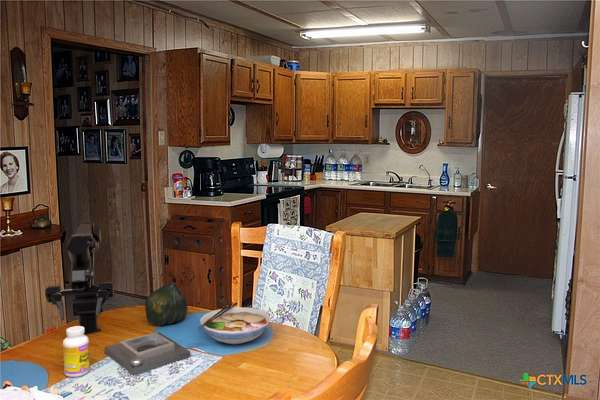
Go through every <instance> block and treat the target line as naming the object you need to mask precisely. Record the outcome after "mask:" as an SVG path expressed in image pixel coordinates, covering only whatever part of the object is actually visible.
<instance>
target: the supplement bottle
mask: <svg viewBox="0 0 600 400" xmlns="http://www.w3.org/2000/svg"><path fill="white" fill-rule="evenodd" d="M65 331H66V332H65V333H66V337H65V338H64V339H63V342H62V349H63V369H64V370H63V371H64V375H65V376H66V377H69V378H78V377H83V376H86V374H87V375H88V373H89V372H90V370H91V368H90V367H91V366H90V364H91V362H90V339H89V337H88V336H87V334H85V335H84V332H85V330H84V327H83V326H79V325H75V326H71V327H68V328H66V330H65Z"/></svg>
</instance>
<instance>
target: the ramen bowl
mask: <svg viewBox="0 0 600 400" xmlns="http://www.w3.org/2000/svg"><path fill="white" fill-rule="evenodd" d="M237 305H238V302H233V301H230V302H229V303H228V304H227V305H225V306H224V307H223V308H221V309H219V308H218V309H215V310H212V311H210V312H207V313H204V315H202V317H201V318H200V319H199V320H200V324H201V325H200V326H199V327H197V330H198V329H199V330H200V329H203V330H204V331H205V332H206V334H207V335H209V337H211V338H213V339H214V340H216V341H217V342H220V343H225V344H228V345H234V346H235V345H241V344H244V343H247V342H250V341H253V340H255V339H256V338H258V337H259V336H261V335H262V334H263V333H264V332H265V330H266V328H267V327H268V325H269V324H270V321H271V320H272V318H271V316H270V314H269V313H268V312H266V311H264V310H262V309H259V308H258V309H257V308H254V307H241V306H238V307H236V306H237Z"/></svg>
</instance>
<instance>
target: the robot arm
mask: <svg viewBox="0 0 600 400" xmlns="http://www.w3.org/2000/svg"><path fill="white" fill-rule="evenodd" d="M101 235H102V234H101V229H100V227H98V226H96V225H95V222H94V221H80V222H78V223H77V227H76V228H75V229H74V234H72V235H71V236H70V239H68V240H67V244H66V249H67V252H68V255H69V259H70V262H71V265H70V266H71V269H70V271H68V272H69V273H68V274H69V277H68V279H69V280H68V283H69V284H68V286H69V289H67V288H66V289H62V286H61V285H52V286H51V285H49V286H46V288H45V290H44V291H45V293H44V295H45V298H46V302H47V303H50V304H51V305H54V306H56V308H57V309H58V311H59V315H60V318H61V321H65V310H64V300H63V297H69V296H70V297H71V296H74V298H72V313H73V317H78V326H83V327H84V330H85V332H84V335H88V334H92V333H95V332H100V331H102V328H101V327H99V326H98V317H99V315H101V314H102V313H103V312H104V308H103V307H104V304H105V303H106V301H108V300H110V298H113V297H114V296H115V291H114V288H115V287H114V283H113V282H112V281H102V282H98V286H96V285H94V279H95V276H96V275H95V274H96V273H95V253H96V252H97V251H98V250H99V248H100V243H102V242H101V241H102V239H101V238H102V236H101Z"/></svg>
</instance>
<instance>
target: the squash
mask: <svg viewBox="0 0 600 400" xmlns="http://www.w3.org/2000/svg"><path fill="white" fill-rule="evenodd" d="M144 305H145V306H144V308H145V316H146V319H147V321H148V323H149V324H150V325H153V326H161V327H162V326H165V325H166V324H169V325H171V324H175V323H179V322H182V321H183V320H184V319H185V318H186V317H187V314H188V309H189V308H188V301H187V297H186V296H185V294H184V293H183V292H182V290H180V287H179V286H178V285H177V284H176V283H175V282H169V283H166V284H164V285H162V286H161V287H159V288H157V289H156V290H154V291H153V292H151V293H150V294H149V295H148V296H147V298H146V301H145V302H144Z"/></svg>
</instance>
